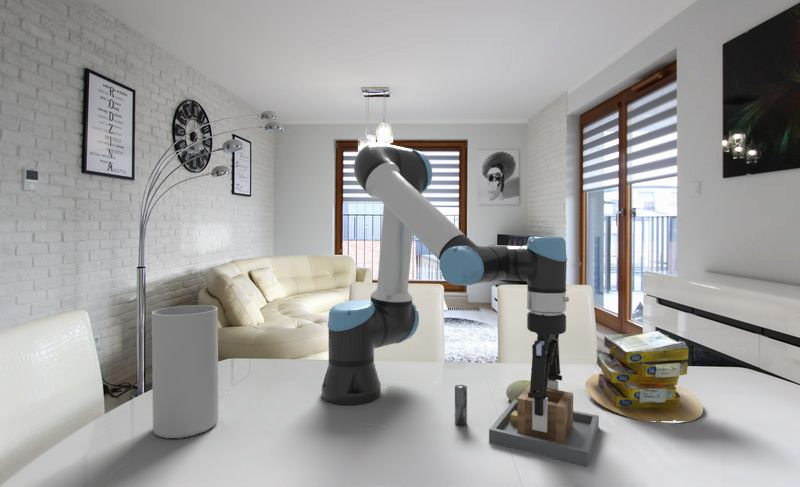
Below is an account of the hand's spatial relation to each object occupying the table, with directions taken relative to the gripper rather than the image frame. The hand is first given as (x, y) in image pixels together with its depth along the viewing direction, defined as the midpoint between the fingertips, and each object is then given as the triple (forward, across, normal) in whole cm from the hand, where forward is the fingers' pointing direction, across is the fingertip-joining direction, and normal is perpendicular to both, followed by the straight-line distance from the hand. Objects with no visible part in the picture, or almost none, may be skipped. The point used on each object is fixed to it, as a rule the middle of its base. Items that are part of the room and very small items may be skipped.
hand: (545, 419), depth 88 cm
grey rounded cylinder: (+3, -4, +17) cm, 18 cm away
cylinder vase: (+3, -35, +67) cm, 76 cm away
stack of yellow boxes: (+3, +30, -16) cm, 34 cm away
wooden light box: (+2, 0, +1) cm, 2 cm away
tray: (+3, 0, 0) cm, 3 cm away
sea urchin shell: (+3, +16, +8) cm, 18 cm away
